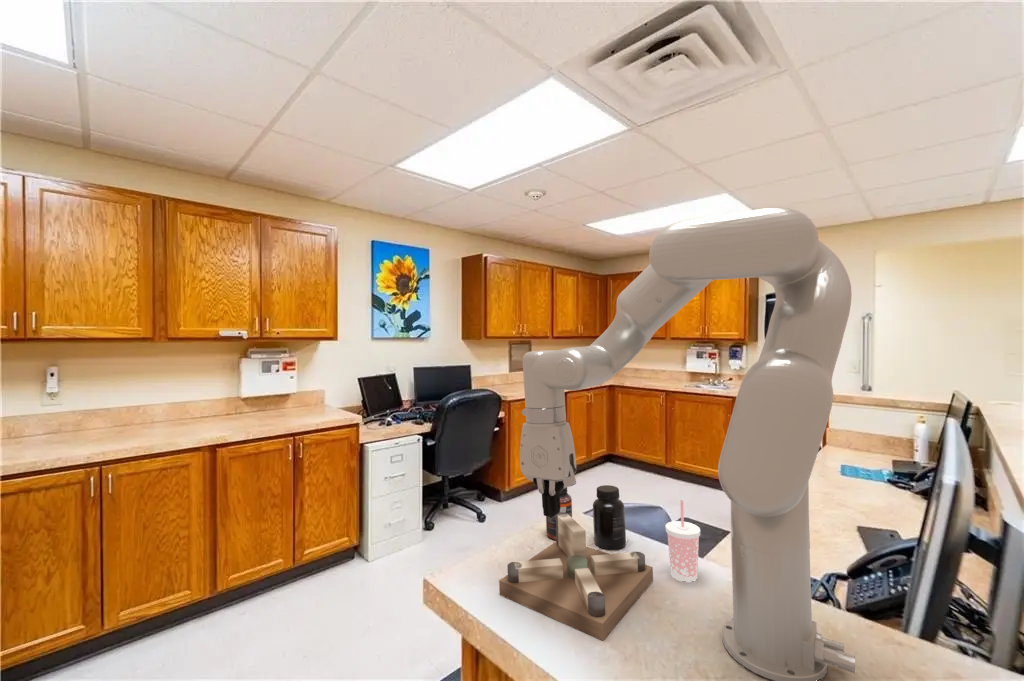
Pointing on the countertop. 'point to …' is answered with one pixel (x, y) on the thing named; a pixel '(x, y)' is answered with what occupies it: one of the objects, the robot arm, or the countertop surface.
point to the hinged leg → (570, 535)
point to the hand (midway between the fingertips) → (551, 513)
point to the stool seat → (579, 586)
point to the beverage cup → (683, 548)
